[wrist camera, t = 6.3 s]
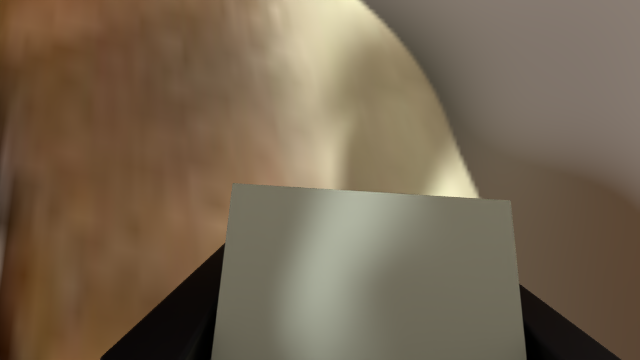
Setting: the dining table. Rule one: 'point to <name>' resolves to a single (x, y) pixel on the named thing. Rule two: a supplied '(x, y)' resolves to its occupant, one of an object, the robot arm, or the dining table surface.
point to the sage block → (367, 277)
